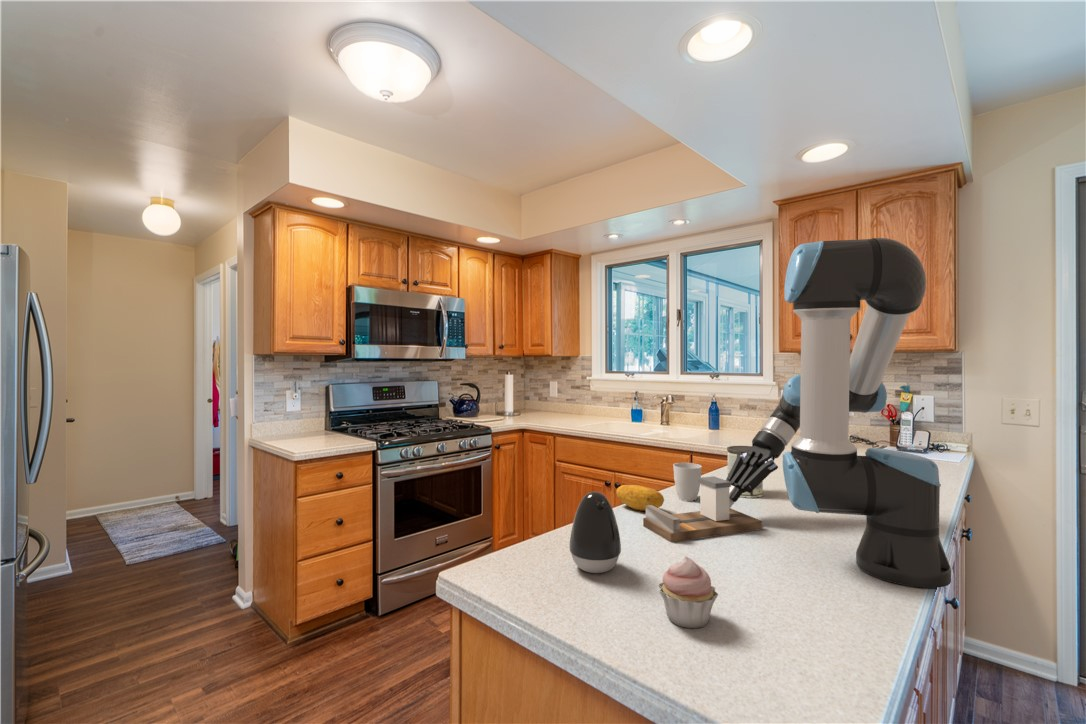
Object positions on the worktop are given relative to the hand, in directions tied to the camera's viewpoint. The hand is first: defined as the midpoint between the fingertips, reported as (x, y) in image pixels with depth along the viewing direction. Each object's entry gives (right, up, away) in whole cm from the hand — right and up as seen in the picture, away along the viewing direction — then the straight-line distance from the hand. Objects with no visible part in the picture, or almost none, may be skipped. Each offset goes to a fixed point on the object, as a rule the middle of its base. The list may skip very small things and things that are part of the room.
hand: (721, 508), depth 128 cm
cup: (-2, -4, +22) cm, 22 cm away
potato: (-18, -4, +12) cm, 22 cm away
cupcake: (-22, -4, -47) cm, 53 cm away
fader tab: (-3, -1, -2) cm, 4 cm away
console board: (-6, -4, -4) cm, 8 cm away
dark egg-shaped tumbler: (-35, -4, -28) cm, 45 cm away
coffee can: (+17, -4, +28) cm, 33 cm away
